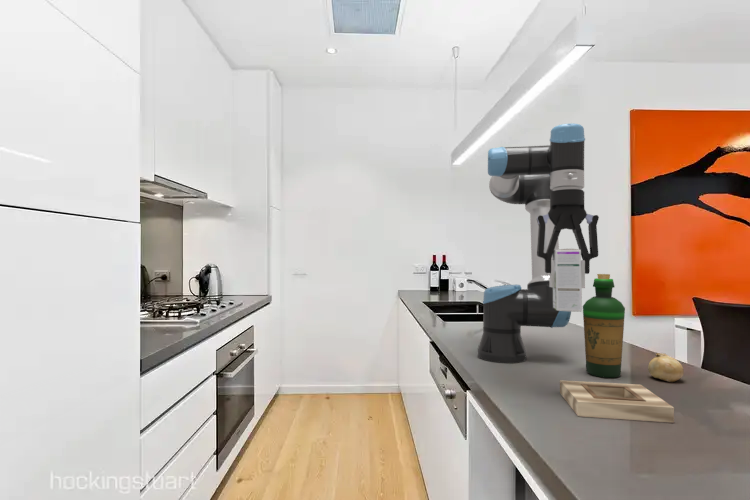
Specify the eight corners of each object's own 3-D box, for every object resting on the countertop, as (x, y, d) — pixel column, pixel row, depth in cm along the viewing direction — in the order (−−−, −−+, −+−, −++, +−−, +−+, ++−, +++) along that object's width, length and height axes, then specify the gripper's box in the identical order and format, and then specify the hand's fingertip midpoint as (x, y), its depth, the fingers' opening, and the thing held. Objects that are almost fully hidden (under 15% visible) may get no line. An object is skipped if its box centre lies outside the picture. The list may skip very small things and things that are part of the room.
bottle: (584, 377, 122) (585, 274, 122) (580, 368, 132) (580, 273, 132) (629, 381, 119) (629, 275, 119) (621, 371, 129) (621, 273, 129)
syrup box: (582, 312, 103) (582, 248, 103) (555, 310, 104) (555, 248, 105) (577, 309, 108) (577, 249, 109) (551, 308, 110) (551, 249, 110)
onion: (680, 378, 123) (680, 352, 123) (686, 385, 116) (686, 358, 116) (646, 374, 126) (646, 349, 126) (650, 381, 119) (650, 354, 119)
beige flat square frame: (559, 392, 108) (559, 379, 108) (640, 397, 105) (640, 383, 105) (578, 416, 93) (578, 400, 93) (673, 422, 90) (673, 406, 90)
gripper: (527, 188, 105) (527, 287, 105) (615, 186, 101) (615, 289, 101) (523, 193, 113) (523, 285, 112) (605, 192, 109) (605, 287, 108)
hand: (566, 287), depth 106 cm, fingers closed on syrup box, 6 cm apart
